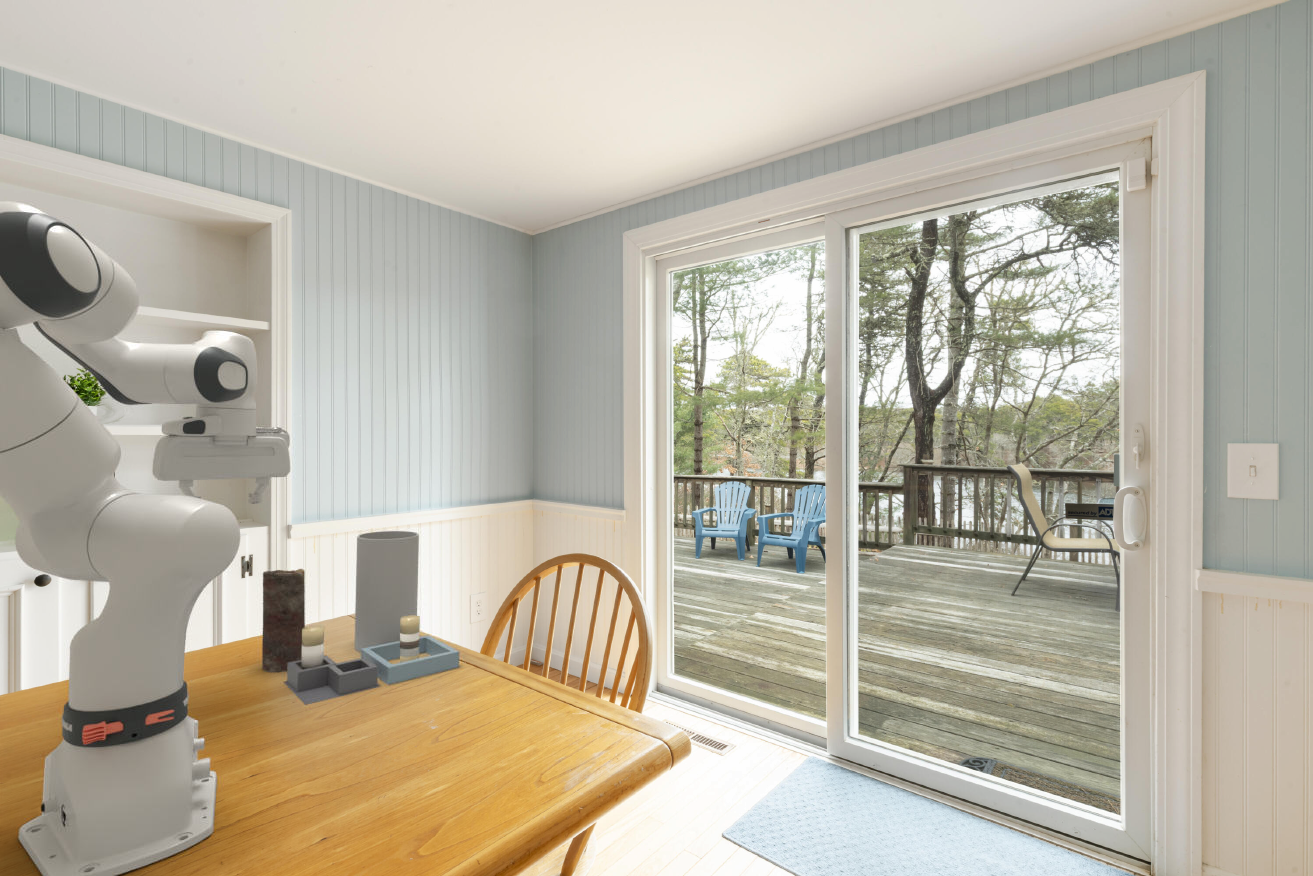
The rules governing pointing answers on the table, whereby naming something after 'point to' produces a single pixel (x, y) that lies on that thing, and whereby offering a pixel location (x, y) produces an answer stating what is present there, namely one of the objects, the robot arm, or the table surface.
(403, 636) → the fuse
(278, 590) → the candle
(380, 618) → the cylinder vase
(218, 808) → the table surface
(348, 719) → the table surface
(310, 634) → the cylinder
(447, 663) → the parts tray
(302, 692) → the fuse holder
